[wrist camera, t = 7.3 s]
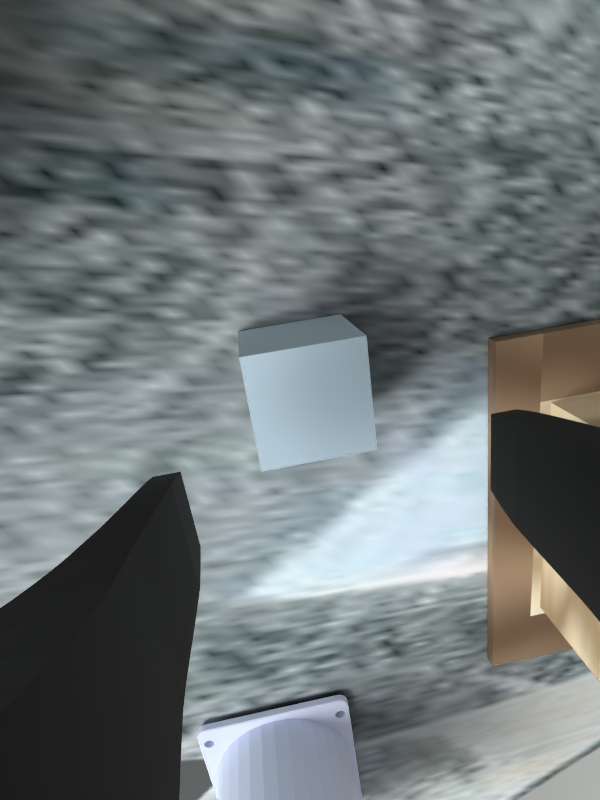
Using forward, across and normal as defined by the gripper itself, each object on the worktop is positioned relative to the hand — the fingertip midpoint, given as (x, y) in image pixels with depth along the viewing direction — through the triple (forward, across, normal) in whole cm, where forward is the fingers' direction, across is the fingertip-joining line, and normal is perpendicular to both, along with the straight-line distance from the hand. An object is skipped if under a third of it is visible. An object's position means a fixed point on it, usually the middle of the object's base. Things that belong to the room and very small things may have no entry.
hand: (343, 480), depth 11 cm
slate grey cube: (+9, 0, 0) cm, 9 cm away
